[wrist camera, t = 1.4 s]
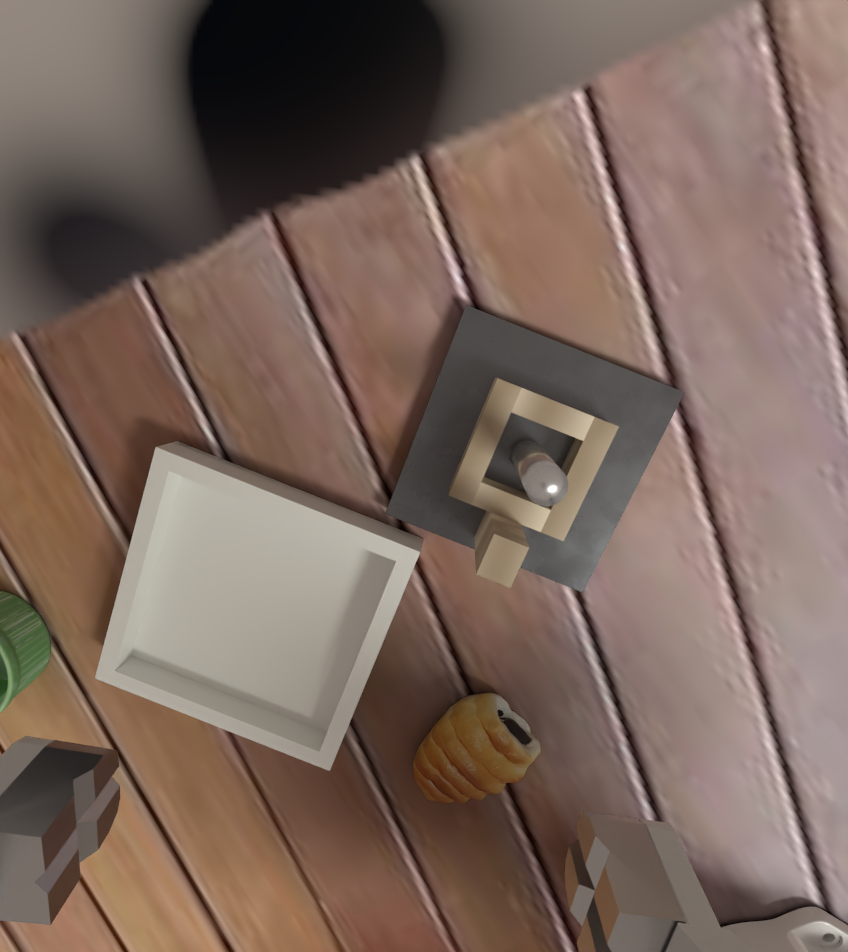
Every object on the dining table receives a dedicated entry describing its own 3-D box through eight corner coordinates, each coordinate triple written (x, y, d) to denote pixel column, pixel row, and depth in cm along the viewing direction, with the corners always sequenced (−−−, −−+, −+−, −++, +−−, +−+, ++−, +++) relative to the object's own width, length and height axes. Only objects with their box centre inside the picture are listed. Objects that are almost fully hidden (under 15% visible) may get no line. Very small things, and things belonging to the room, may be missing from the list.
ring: (609, 422, 31) (642, 436, 25) (541, 564, 34) (557, 606, 28) (495, 377, 31) (502, 380, 25) (435, 522, 34) (428, 555, 28)
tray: (423, 538, 35) (420, 552, 32) (338, 745, 39) (329, 771, 37) (177, 440, 35) (155, 447, 32) (118, 658, 39) (94, 678, 37)
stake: (677, 391, 32) (759, 402, 23) (579, 585, 35) (617, 661, 26) (466, 306, 31) (466, 285, 23) (387, 509, 35) (360, 559, 26)
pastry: (452, 802, 40) (450, 848, 36) (392, 744, 39) (384, 784, 35) (546, 735, 38) (554, 775, 34) (484, 672, 37) (485, 707, 33)
